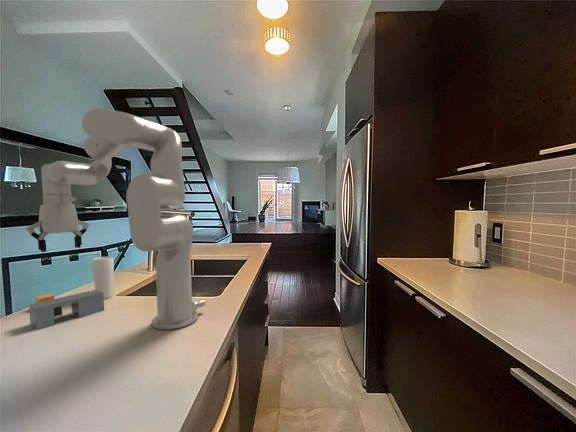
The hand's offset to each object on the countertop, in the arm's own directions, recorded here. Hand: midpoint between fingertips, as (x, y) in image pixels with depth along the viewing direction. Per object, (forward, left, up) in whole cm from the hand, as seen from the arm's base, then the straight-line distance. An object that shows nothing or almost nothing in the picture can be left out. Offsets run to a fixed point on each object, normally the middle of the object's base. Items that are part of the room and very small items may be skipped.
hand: (61, 249), depth 96 cm
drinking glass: (-12, +3, -20) cm, 23 cm away
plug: (+4, +2, -20) cm, 20 cm away
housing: (+3, +15, -20) cm, 25 cm away
